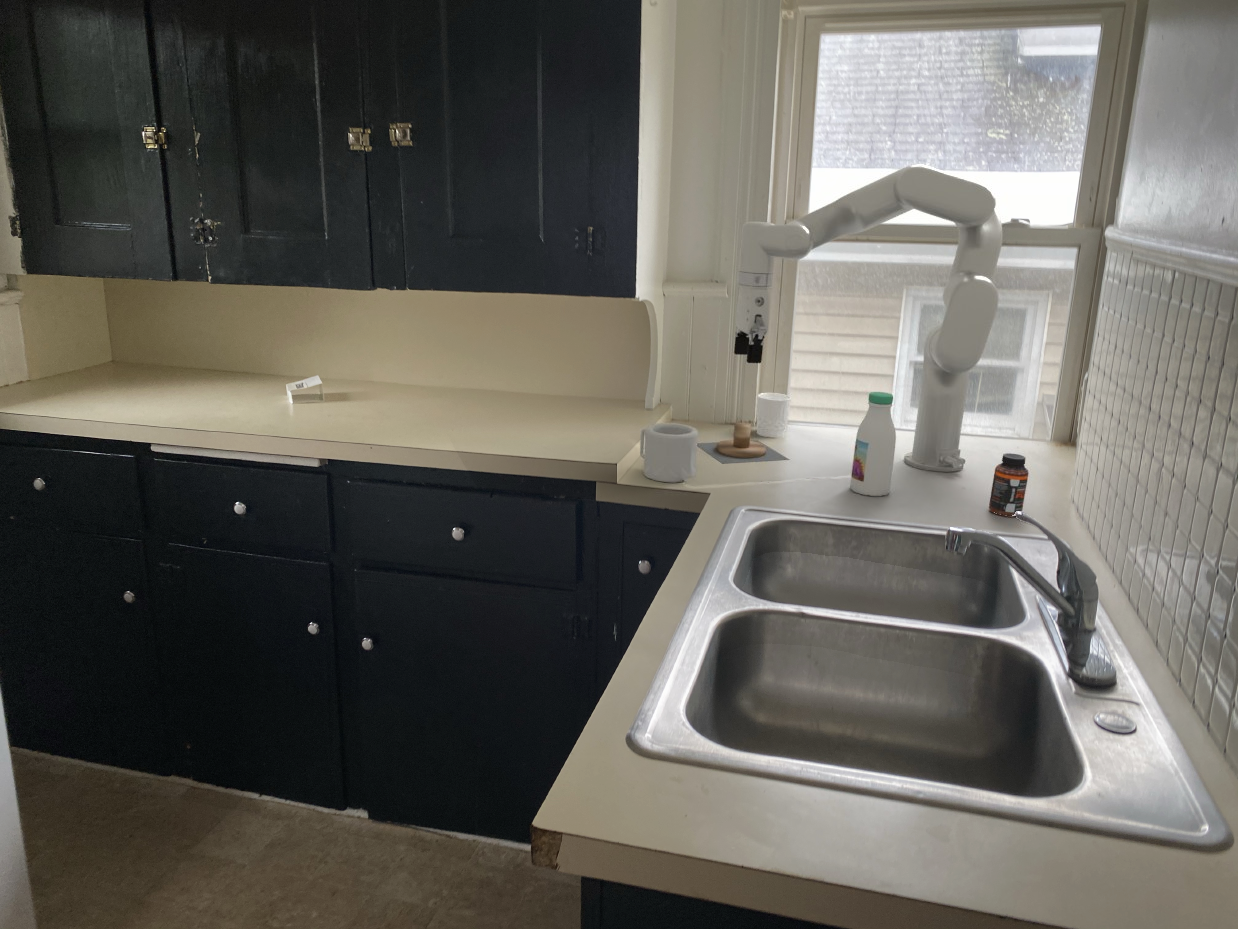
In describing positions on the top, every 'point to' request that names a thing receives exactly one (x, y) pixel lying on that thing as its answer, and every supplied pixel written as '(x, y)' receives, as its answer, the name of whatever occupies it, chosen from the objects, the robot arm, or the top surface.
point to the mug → (669, 452)
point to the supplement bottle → (1009, 485)
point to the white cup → (772, 414)
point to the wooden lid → (741, 444)
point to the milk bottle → (874, 448)
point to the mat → (769, 456)
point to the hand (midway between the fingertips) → (747, 358)
